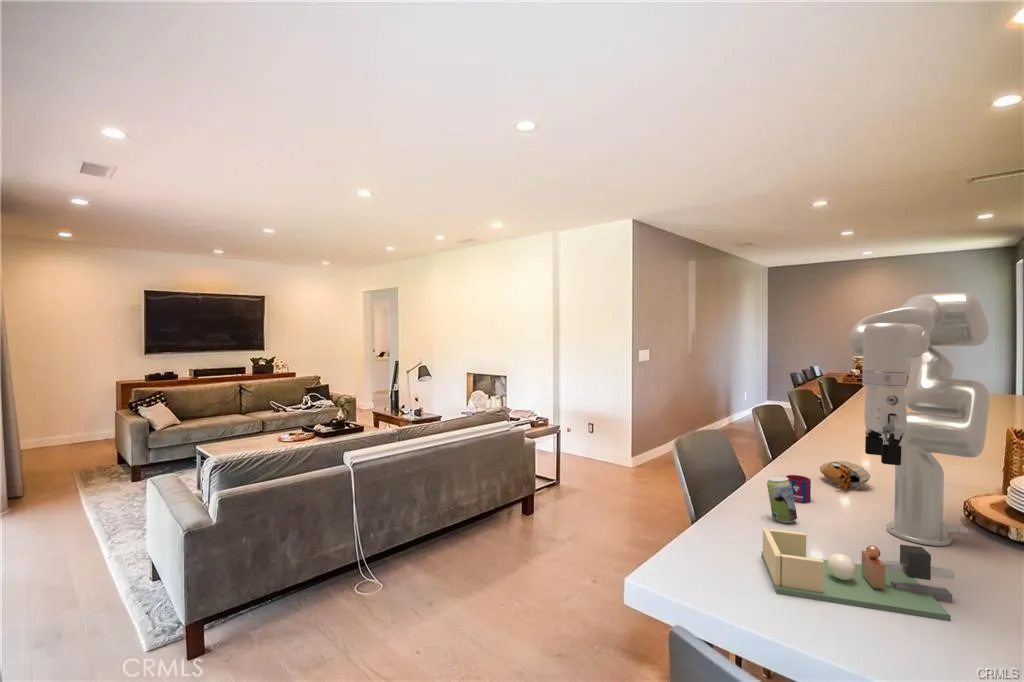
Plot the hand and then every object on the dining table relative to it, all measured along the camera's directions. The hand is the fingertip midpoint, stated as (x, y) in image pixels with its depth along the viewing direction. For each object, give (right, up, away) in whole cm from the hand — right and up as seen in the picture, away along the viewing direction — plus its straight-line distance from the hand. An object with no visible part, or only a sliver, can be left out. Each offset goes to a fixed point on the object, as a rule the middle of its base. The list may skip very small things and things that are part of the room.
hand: (882, 459), depth 102 cm
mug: (+11, -24, +47) cm, 54 cm away
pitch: (-9, -25, -4) cm, 27 cm away
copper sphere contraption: (-1, -23, -7) cm, 25 cm away
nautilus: (+32, -24, +59) cm, 71 cm away
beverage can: (-5, -25, +29) cm, 39 cm away
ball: (-11, -22, -4) cm, 25 cm away
